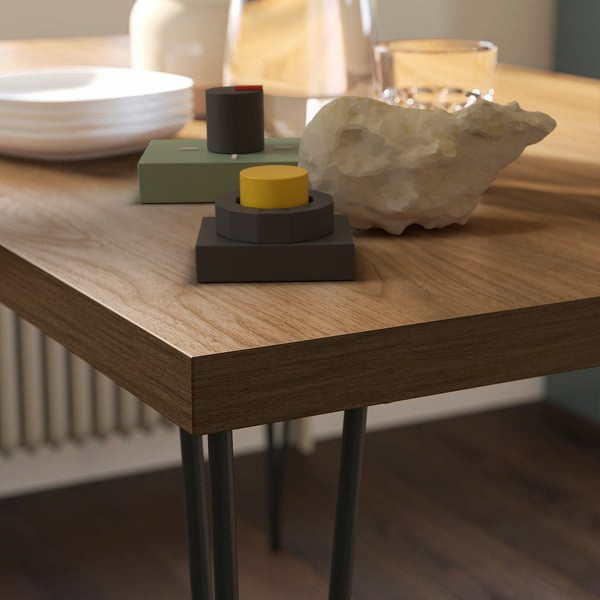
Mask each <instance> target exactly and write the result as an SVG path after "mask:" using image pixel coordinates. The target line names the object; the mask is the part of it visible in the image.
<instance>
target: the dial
mask: <svg viewBox="0 0 600 600" xmlns="http://www.w3.org/2000/svg"><path fill="white" fill-rule="evenodd" d="M204 92H205V93H204V96H205V98H204V99H205V125H206V128H205V129H206V139H207V149H208V150H209V151H211V152H215V153H223V154H243V153H253V152H258V151H261V150H263V149H264V147H265V144H264V138H265V102H264V101H265V100H264V95H265V93H264V85H263V84H237V85H236V84H235V85H229V86H217V87H216V86H215V87H209V88H207V89H205V91H204Z"/></svg>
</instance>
